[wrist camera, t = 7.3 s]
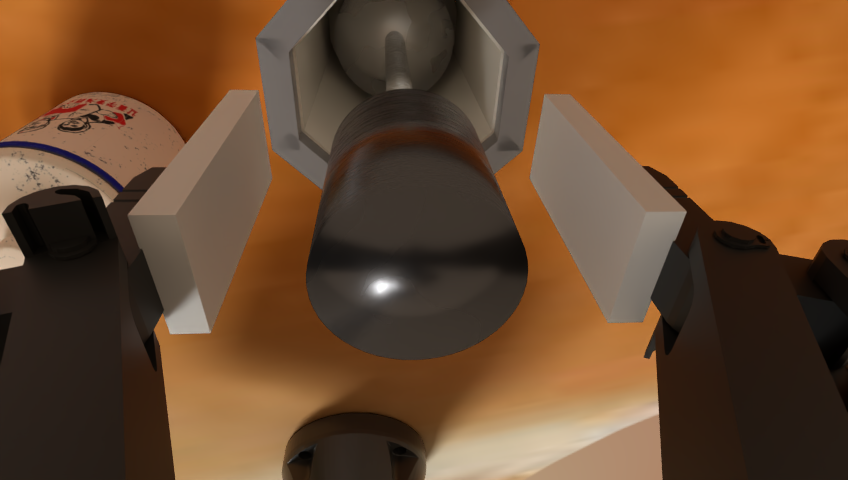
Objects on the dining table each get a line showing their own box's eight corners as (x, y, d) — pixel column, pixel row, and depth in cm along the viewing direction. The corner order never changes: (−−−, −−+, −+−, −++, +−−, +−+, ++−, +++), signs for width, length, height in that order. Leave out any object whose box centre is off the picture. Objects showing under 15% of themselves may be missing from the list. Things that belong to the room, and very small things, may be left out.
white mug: (465, 102, 32) (512, 212, 20) (318, 100, 31) (282, 213, 19) (485, -135, 25) (574, -169, 13) (297, -145, 24) (220, -190, 13)
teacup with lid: (145, 66, 29) (28, 146, 19) (223, 193, 34) (161, 306, 24) (-29, 125, 30) (-219, 227, 21) (72, 239, 35) (-44, 363, 26)
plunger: (448, 95, 27) (549, 386, 11) (339, 94, 27) (273, 396, 10) (456, -26, 24) (622, 128, 7) (331, -31, 23) (213, 124, 7)
